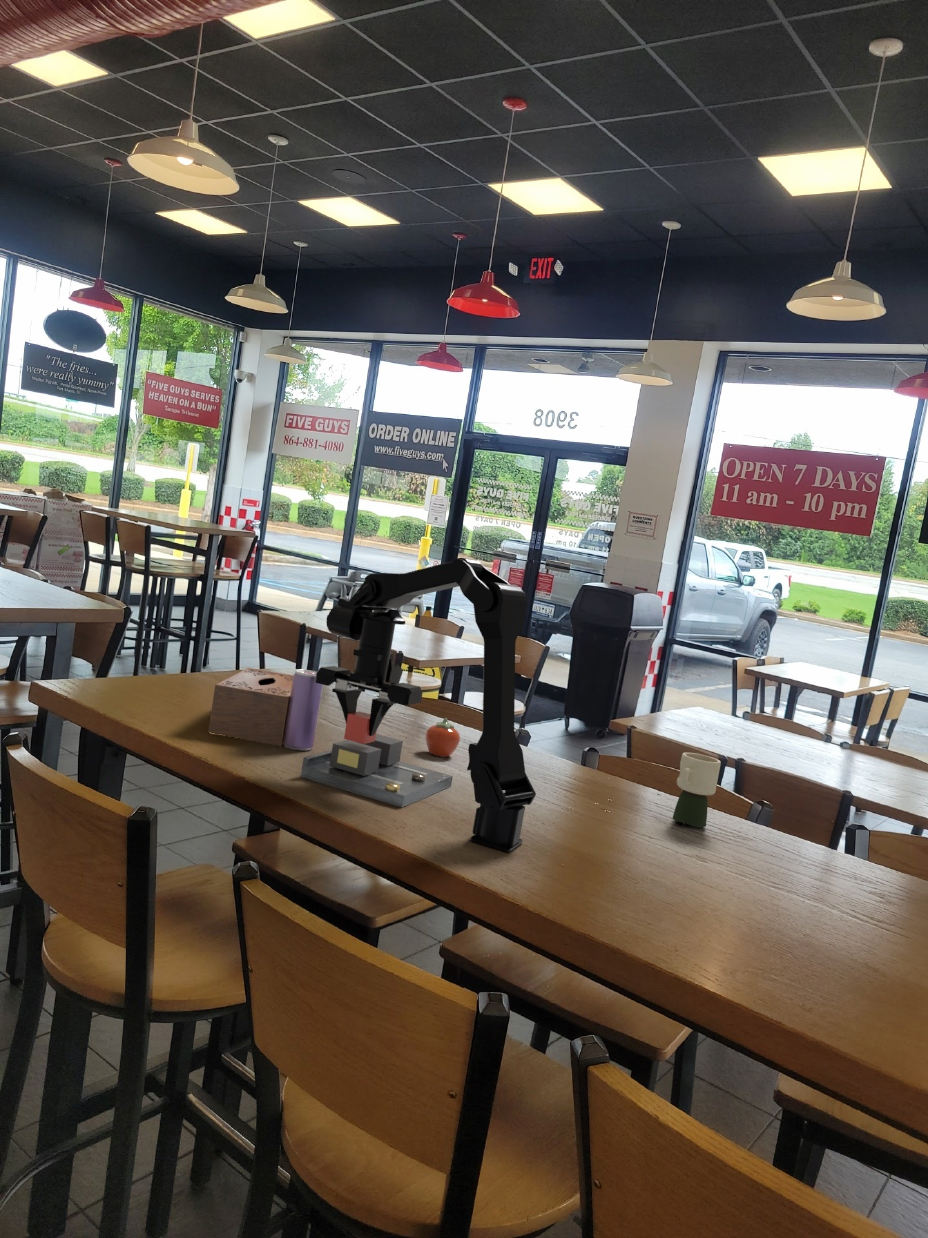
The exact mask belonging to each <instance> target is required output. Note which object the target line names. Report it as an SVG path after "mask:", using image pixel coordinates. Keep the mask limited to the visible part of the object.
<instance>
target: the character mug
mask: <svg viewBox="0 0 928 1238" xmlns="http://www.w3.org/2000/svg"><path fill="white" fill-rule="evenodd" d="M679 767H680V770H679V773H678V777H677V779H676V785H677V787H679V788H680V789H681V792H680V793H679V796H678V799H677V802H676V805H675V808H674V811H673V816H672V820H673V821H675V822H678V823H683V826H685V827H687V826H688V825H690V826H693V827H696V828H697V827H698V828H706V827H707V818H708V808H709V807H708V805H709V800H708V797H707V796H713V795H714V794H715V793H716V792H717V791H716V790H717V787H718V786H717V785H718V779H719V776H720V775H719V773H720V770H721V760H719V759H718V758H716V757H712V756H710V755H706V754H701V753H697V752H696V753H695V752H683V753H682V755H681V758H680V763H679Z"/></svg>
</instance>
